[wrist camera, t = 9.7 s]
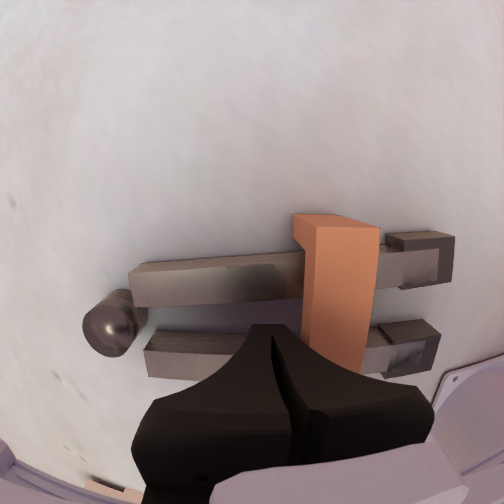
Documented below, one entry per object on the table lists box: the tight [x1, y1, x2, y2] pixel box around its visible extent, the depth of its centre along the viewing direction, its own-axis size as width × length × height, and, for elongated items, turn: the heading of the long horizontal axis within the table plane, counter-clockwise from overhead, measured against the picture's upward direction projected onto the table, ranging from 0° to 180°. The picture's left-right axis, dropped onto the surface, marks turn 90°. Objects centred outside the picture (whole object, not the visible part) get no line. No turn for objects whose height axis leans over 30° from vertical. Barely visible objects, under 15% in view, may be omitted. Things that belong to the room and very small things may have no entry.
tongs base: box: [82, 289, 441, 381], centre depth 13 cm, size 17×4×3 cm, turn 90°
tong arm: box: [128, 231, 455, 307], centre depth 12 cm, size 14×2×2 cm, turn 94°
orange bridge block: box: [293, 214, 380, 374], centre depth 11 cm, size 2×10×4 cm, turn 0°
